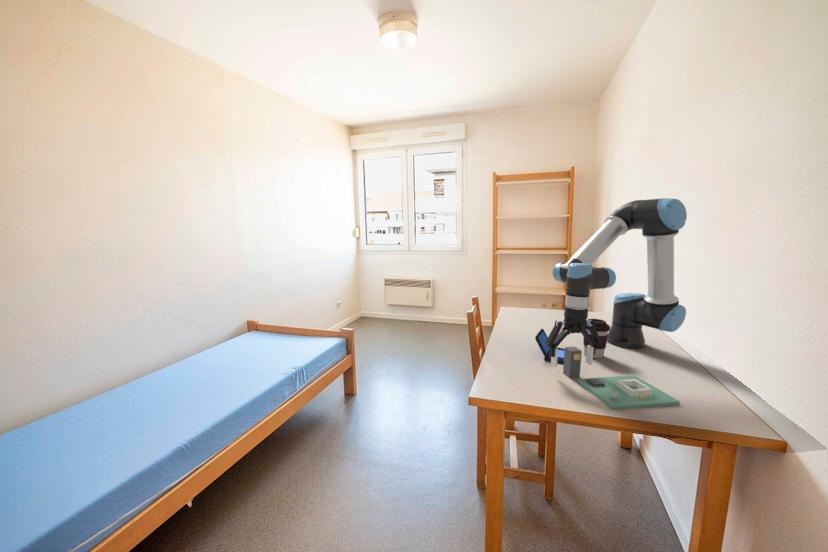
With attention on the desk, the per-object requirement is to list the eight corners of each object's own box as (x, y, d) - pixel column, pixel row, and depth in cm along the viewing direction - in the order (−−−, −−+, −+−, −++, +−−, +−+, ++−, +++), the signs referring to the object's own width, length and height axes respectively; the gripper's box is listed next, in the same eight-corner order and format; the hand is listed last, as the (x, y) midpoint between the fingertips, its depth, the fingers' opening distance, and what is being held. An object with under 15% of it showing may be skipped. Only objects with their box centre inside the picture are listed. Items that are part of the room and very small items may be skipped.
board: (634, 377, 121) (635, 368, 120) (679, 404, 103) (680, 394, 102) (576, 381, 118) (577, 372, 117) (613, 409, 100) (614, 398, 100)
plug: (573, 372, 125) (575, 346, 123) (581, 378, 120) (583, 351, 119) (563, 373, 125) (564, 347, 123) (570, 378, 120) (572, 352, 118)
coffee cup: (606, 353, 143) (609, 319, 141) (608, 361, 134) (611, 325, 132) (580, 349, 147) (582, 316, 145) (580, 357, 139) (583, 322, 136)
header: (634, 384, 113) (635, 379, 113) (653, 396, 106) (653, 390, 106) (615, 386, 112) (615, 380, 112) (632, 397, 105) (633, 391, 105)
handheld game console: (568, 366, 131) (570, 343, 130) (533, 359, 138) (534, 337, 137) (573, 353, 144) (575, 332, 143) (540, 347, 151) (541, 327, 150)
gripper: (601, 303, 124) (596, 358, 127) (537, 305, 121) (533, 361, 124) (616, 308, 117) (610, 367, 120) (548, 310, 114) (544, 370, 117)
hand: (571, 364), depth 122 cm, fingers open, 13 cm apart
